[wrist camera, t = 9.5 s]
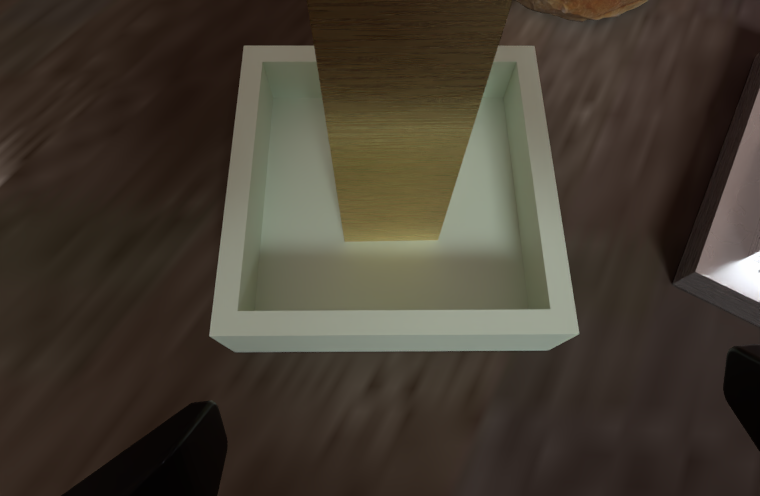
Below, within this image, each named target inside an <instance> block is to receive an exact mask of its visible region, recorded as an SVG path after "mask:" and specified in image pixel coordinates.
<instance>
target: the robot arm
mask: <svg viewBox="0 0 760 496" xmlns="http://www.w3.org/2000/svg"><path fill="white" fill-rule="evenodd" d="M723 390H724V395H725V398H726V400H727V402H728V404H729V406H730V407H731V409H732V410H733V412H734V413H735V415H736V416H737V418H738V419H739V421H740V422H741V424H742V425H743V427H744V428H745V430H746V431H747V433H748V434H749V436H750V437H751V439H752V441H753V442H754V444H755V445H756V447H757V448H758V450H759V451H760V345H758V344H751V345H742V346H734V347H732V348H731V349H730V350H729V351H728V353H727V359H726V368H725V376H724V385H723ZM226 453H227V436H226V433H225V429H224V426H223V422H222V419H221V415H220V412H219V409H218V406H217V404H216V403H215V402H213V401H204V402H194V403H191V404H189V405H188V406H186V407H185V408H184V409H182V410H181V411H179V412H178V413H177V414H175V415H174V416H172V417H171V418H170V419H168V420H167V421H165V422H164V423H163V424H161V425H160V426H158V427H157V428H156V429H154V430H153V431H151V432H150V433H149V434H147V435H146V436H144V437H143V438H141V439H140V440H139V441H137V442H136V443H134V444H133V445H132V446H130V447H129V448H127V449H126V450H125V451H123V452H122V453H120V454H119V455H118V456H116V457H115V458H113V459H112V460H111V461H109V462H108V463H106V464H105V465H104V466H102V467H101V468H99V469H98V470H97V471H95V472H94V473H92V474H91V475H90V476H88V477H87V478H85V479H84V480H83V481H81V482H80V483H78V484H77V485H76V486H74V487H73V488H71V489H70V490H69V491H67V492H66V493H64V494H63V495H61V496H217V494H218V489H219V485H220V480H221V476H222V471H223V467H224V462H225V458H226Z"/></svg>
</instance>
